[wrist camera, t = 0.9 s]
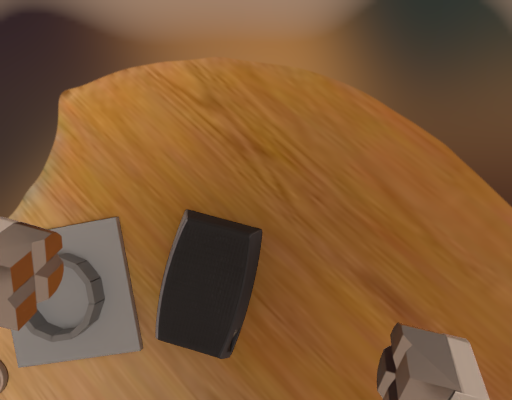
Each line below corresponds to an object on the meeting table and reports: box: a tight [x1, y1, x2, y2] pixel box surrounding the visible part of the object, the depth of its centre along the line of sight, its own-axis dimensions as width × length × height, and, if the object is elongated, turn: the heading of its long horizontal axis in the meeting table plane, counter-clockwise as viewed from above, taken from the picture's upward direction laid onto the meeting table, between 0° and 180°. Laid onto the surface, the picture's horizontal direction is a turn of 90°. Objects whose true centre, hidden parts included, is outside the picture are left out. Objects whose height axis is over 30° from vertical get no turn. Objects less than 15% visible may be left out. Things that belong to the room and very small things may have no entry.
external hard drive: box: [156, 210, 262, 359], centre depth 61 cm, size 13×19×4 cm
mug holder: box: [11, 217, 143, 368], centre depth 64 cm, size 20×20×4 cm
